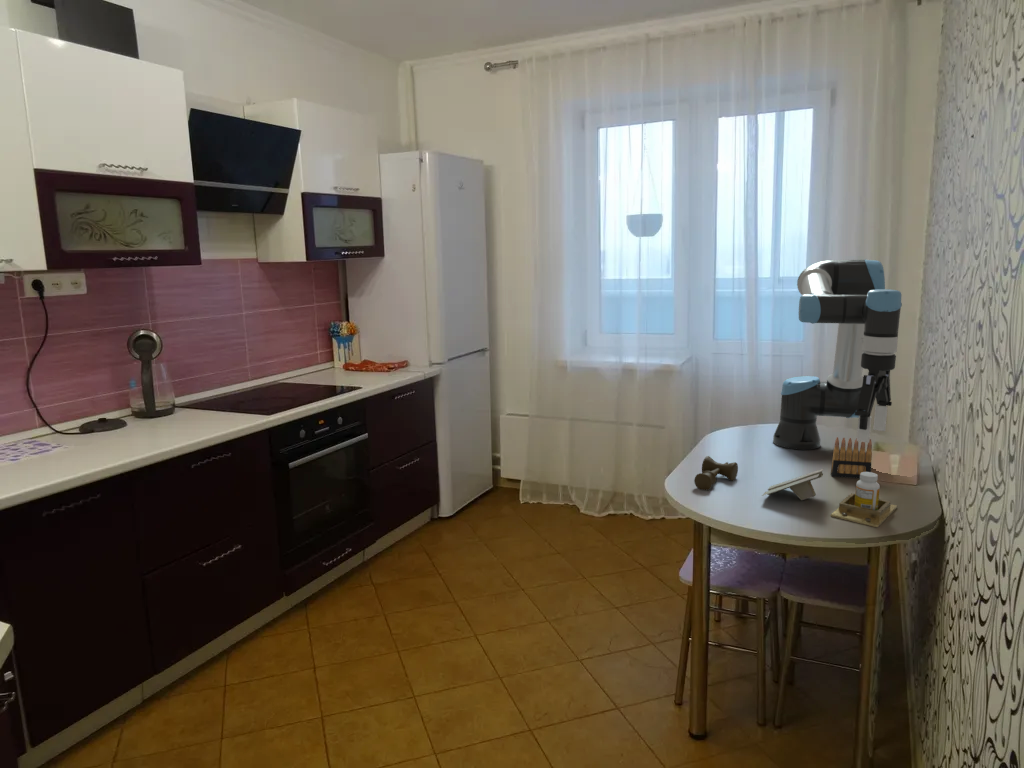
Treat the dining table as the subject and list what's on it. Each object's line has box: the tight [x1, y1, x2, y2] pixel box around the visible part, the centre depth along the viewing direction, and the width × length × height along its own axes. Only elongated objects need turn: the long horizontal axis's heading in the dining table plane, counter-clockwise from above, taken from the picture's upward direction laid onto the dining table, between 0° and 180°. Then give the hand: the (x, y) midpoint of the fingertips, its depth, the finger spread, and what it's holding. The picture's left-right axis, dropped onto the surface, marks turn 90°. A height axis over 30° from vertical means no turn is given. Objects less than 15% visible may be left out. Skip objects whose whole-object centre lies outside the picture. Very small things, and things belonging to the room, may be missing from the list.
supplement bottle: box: [854, 471, 881, 511], centre depth 178 cm, size 5×5×10 cm
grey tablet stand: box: [761, 468, 824, 501], centre depth 188 cm, size 16×9×15 cm
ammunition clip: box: [830, 436, 873, 479], centre depth 205 cm, size 11×2×12 cm, turn 74°
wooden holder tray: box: [830, 492, 898, 528], centre depth 179 cm, size 17×11×3 cm, turn 137°
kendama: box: [694, 455, 739, 491], centre depth 204 cm, size 6×10×20 cm
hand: (871, 435), depth 176 cm, fingers open, 13 cm apart
